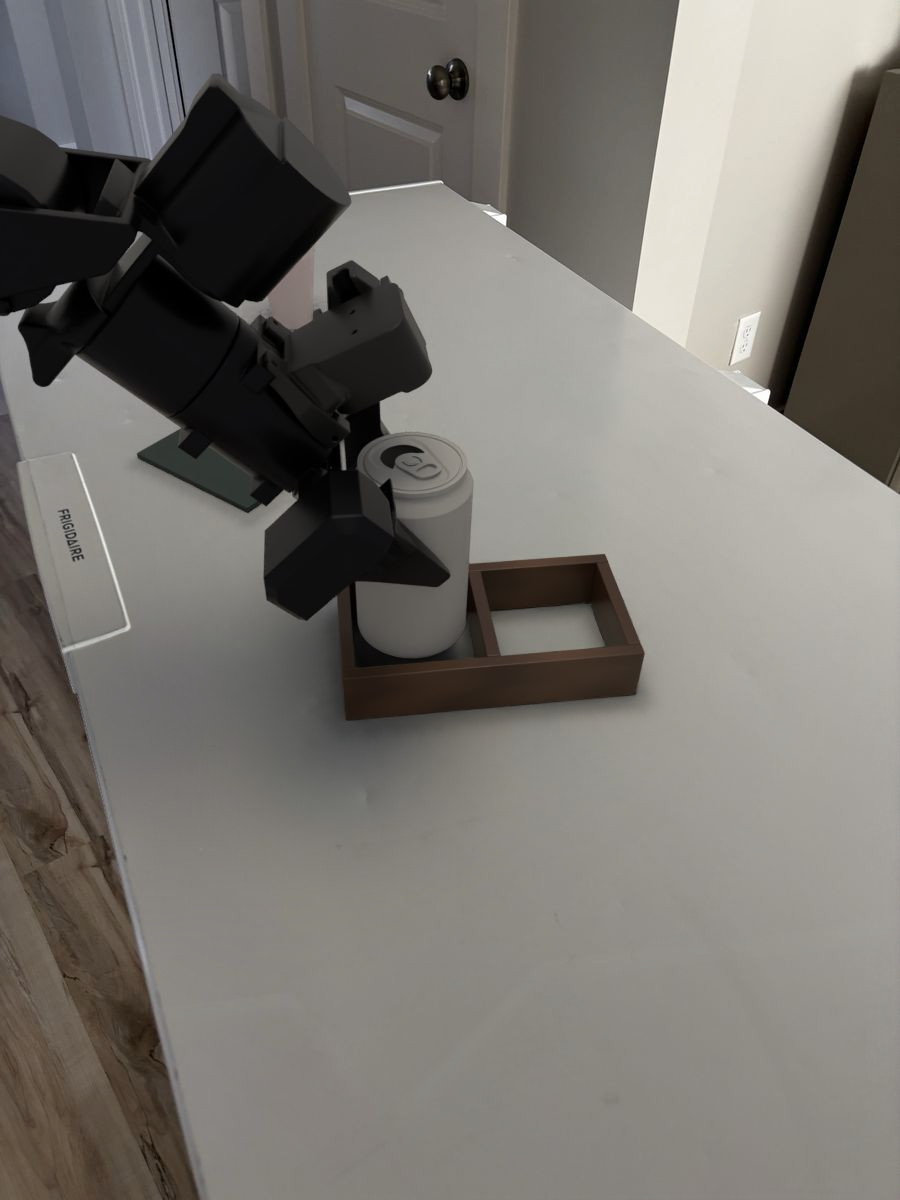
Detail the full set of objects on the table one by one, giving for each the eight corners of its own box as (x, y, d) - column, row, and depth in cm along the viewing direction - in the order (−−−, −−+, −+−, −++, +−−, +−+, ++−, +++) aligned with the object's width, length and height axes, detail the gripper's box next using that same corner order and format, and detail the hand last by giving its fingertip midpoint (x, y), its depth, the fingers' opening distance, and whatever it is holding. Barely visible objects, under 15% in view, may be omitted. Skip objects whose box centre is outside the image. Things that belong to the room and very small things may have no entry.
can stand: (345, 720, 53) (341, 679, 51) (338, 614, 60) (335, 573, 57) (636, 694, 55) (645, 653, 53) (598, 593, 62) (605, 553, 59)
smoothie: (339, 317, 91) (328, 167, 82) (297, 342, 87) (281, 187, 78) (288, 301, 94) (273, 154, 84) (246, 325, 90) (224, 173, 80)
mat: (137, 457, 73) (136, 453, 72) (246, 395, 80) (246, 391, 80) (247, 512, 68) (247, 508, 67) (353, 440, 75) (353, 436, 75)
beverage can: (414, 579, 59) (415, 412, 51) (487, 631, 55) (500, 461, 47) (336, 626, 55) (323, 456, 47) (408, 684, 52) (408, 512, 44)
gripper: (325, 340, 32) (592, 563, 41) (313, 166, 46) (515, 361, 55) (137, 532, 37) (414, 697, 45) (177, 321, 50) (384, 479, 59)
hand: (436, 541), depth 51 cm, fingers closed on beverage can, 6 cm apart
